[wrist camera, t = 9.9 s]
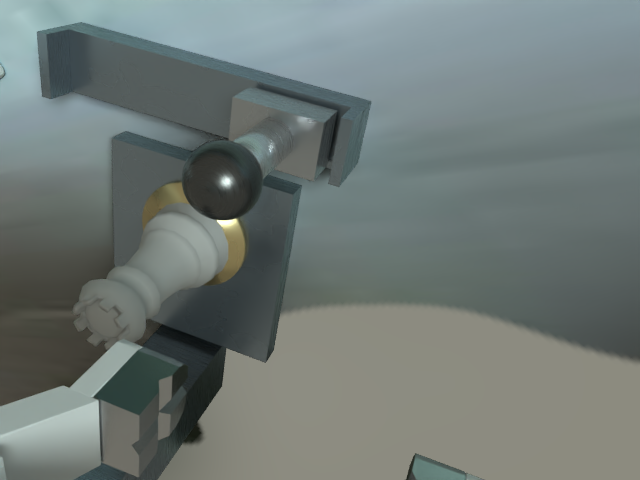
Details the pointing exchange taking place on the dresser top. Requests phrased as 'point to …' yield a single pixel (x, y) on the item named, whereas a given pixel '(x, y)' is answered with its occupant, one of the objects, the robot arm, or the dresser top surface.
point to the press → (166, 188)
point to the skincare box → (1, 71)
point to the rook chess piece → (152, 274)
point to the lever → (257, 152)
